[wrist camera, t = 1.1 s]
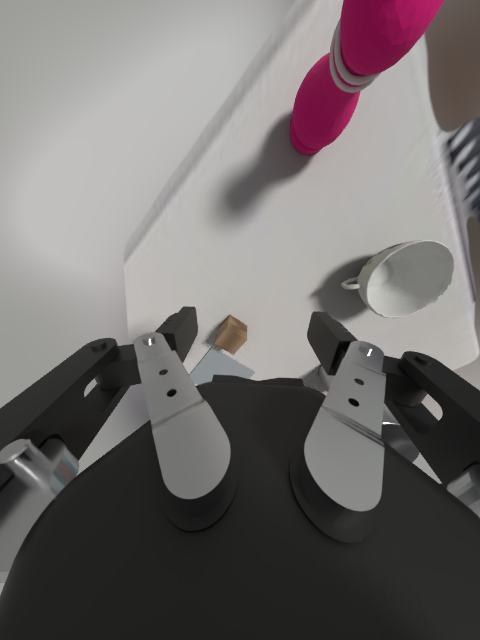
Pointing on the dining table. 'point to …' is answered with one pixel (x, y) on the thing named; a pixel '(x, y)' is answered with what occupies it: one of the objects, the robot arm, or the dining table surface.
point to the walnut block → (231, 335)
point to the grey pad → (218, 367)
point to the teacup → (404, 278)
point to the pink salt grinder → (355, 65)
